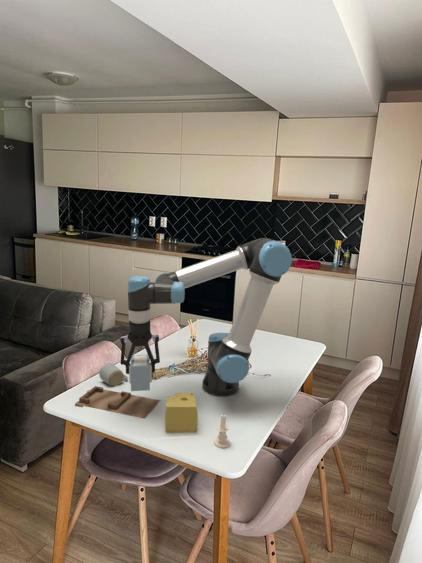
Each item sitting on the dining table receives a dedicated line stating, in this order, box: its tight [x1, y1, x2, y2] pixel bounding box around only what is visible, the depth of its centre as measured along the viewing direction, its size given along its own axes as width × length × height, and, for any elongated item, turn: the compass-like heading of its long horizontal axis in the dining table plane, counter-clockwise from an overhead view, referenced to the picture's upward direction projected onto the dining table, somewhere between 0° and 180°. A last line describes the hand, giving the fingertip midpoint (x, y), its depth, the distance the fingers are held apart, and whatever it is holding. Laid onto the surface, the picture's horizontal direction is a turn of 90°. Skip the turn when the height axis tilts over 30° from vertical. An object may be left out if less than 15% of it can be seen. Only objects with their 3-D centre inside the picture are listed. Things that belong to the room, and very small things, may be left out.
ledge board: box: [74, 385, 161, 419], centre depth 158 cm, size 28×14×3 cm, turn 73°
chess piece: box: [213, 413, 231, 449], centre depth 135 cm, size 5×5×10 cm
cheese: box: [164, 392, 199, 433], centre depth 144 cm, size 10×11×10 cm
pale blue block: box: [130, 354, 151, 392], centre depth 153 cm, size 11×6×9 cm, turn 8°
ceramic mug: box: [98, 362, 129, 387], centre depth 174 cm, size 11×8×8 cm
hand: (140, 381), depth 154 cm, fingers closed on pale blue block, 7 cm apart
